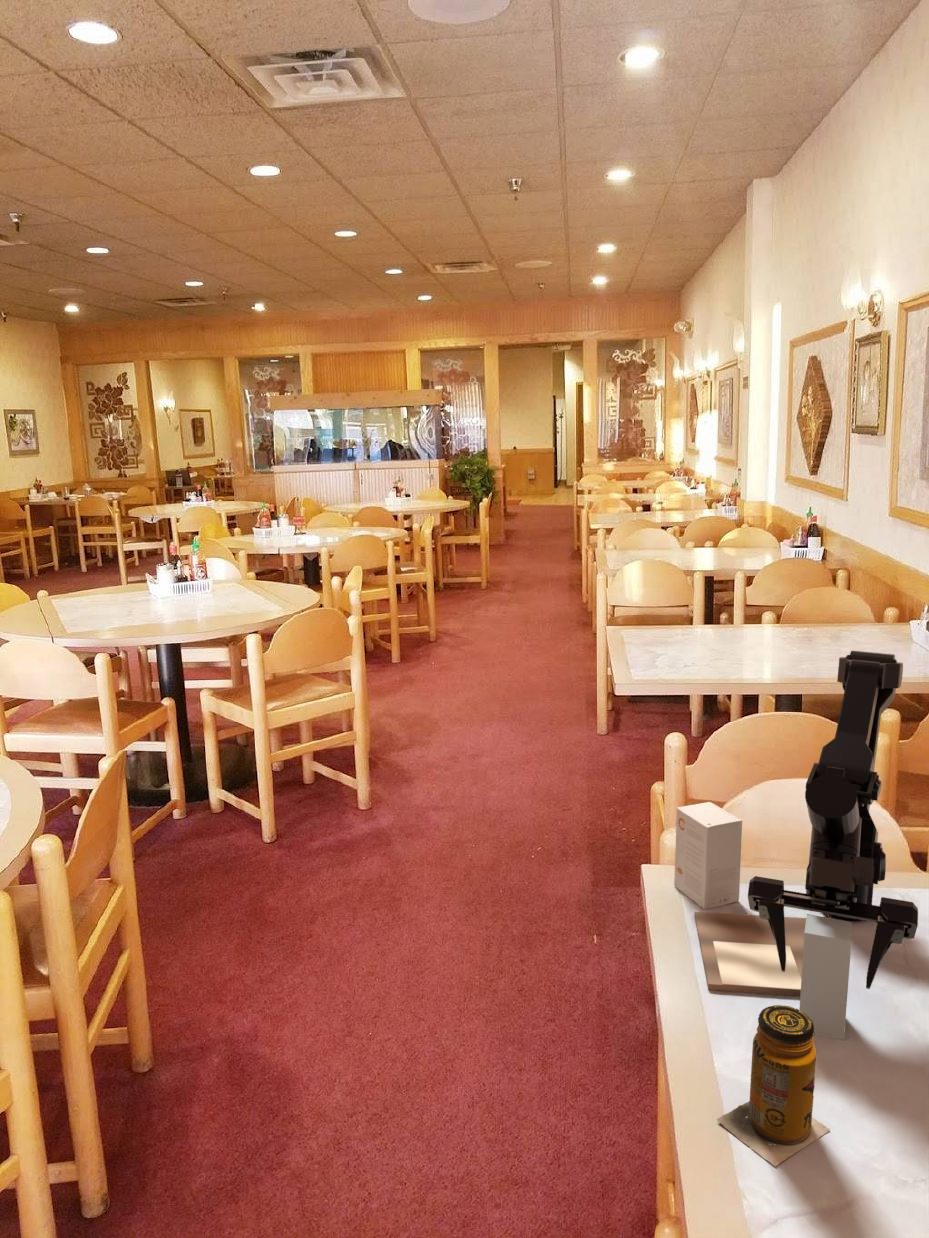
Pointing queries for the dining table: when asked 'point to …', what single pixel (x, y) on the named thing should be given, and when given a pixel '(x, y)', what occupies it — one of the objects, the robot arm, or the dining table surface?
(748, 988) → the brown square board
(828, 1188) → the dining table surface
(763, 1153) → the condiment
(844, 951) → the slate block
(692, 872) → the small box
